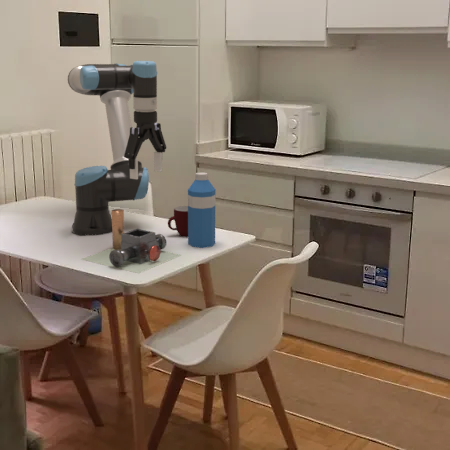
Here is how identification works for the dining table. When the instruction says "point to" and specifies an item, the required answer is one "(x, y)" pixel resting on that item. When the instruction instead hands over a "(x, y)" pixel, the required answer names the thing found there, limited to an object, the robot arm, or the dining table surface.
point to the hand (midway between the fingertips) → (146, 175)
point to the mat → (130, 266)
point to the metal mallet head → (138, 247)
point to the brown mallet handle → (117, 227)
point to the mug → (180, 220)
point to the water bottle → (201, 212)
